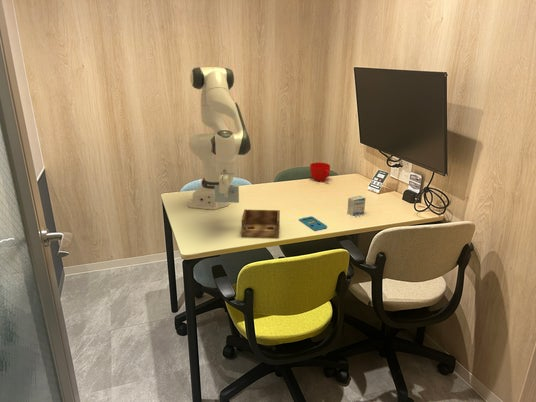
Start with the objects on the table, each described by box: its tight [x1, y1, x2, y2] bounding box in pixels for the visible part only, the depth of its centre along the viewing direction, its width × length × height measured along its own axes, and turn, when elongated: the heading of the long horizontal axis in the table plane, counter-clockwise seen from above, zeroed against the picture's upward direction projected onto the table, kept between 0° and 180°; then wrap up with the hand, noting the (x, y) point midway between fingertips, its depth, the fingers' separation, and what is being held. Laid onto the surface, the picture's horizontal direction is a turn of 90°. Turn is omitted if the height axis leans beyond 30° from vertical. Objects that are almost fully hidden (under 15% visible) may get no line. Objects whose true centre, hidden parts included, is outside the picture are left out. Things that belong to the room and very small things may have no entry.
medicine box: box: [346, 195, 366, 217], centre depth 205 cm, size 8×4×9 cm, turn 118°
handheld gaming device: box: [298, 216, 328, 232], centre depth 193 cm, size 8×1×15 cm
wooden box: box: [240, 208, 281, 239], centre depth 184 cm, size 17×14×8 cm
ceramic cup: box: [309, 162, 331, 182], centre depth 255 cm, size 13×17×10 cm
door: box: [214, 184, 240, 204], centre depth 182 cm, size 11×3×8 cm, turn 87°
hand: (226, 195), depth 183 cm, fingers closed on door, 2 cm apart
